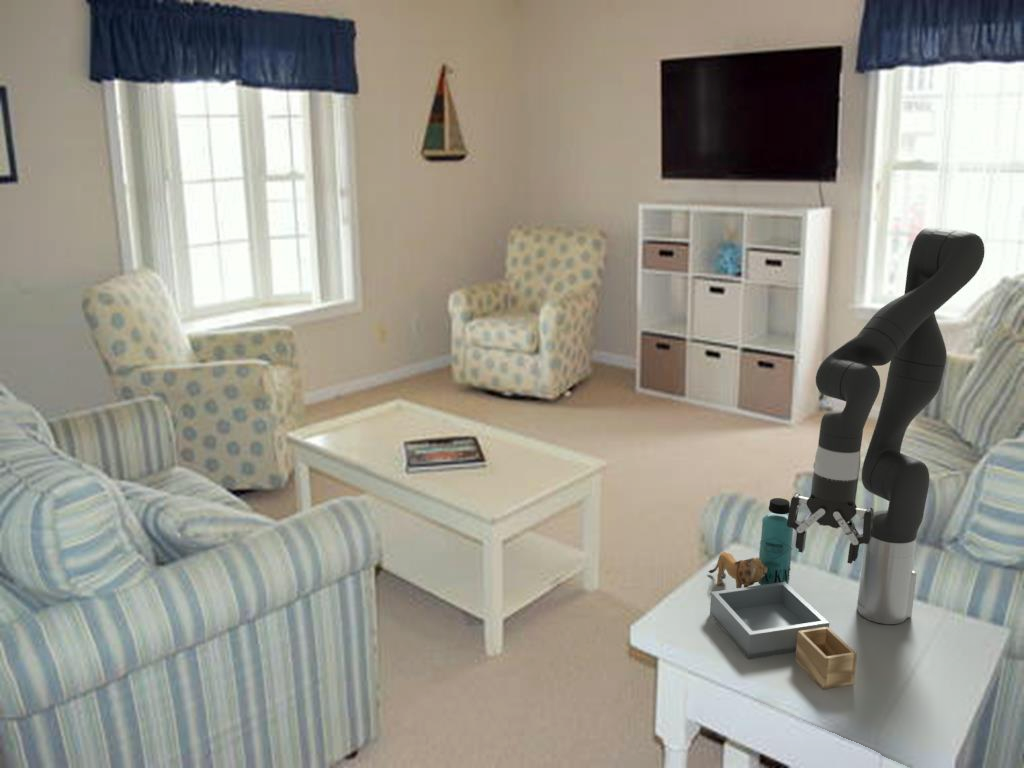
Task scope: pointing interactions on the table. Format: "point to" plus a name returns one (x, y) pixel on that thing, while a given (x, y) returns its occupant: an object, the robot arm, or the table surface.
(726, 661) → the table surface
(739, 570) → the lion figurine
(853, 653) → the small oak crate
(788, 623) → the grey square tray
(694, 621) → the table surface
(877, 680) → the table surface
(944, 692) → the table surface
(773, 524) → the beverage bottle
